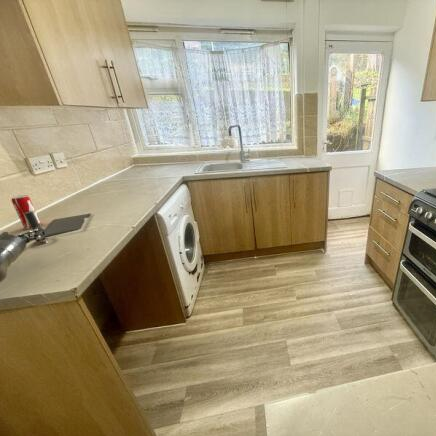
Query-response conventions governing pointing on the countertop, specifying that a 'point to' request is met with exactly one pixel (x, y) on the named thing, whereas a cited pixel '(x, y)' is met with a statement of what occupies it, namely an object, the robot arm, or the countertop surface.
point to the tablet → (65, 225)
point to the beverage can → (24, 209)
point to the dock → (39, 243)
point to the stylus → (33, 223)
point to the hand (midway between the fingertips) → (23, 231)
